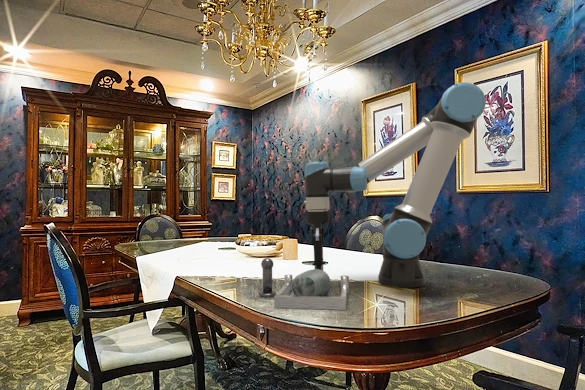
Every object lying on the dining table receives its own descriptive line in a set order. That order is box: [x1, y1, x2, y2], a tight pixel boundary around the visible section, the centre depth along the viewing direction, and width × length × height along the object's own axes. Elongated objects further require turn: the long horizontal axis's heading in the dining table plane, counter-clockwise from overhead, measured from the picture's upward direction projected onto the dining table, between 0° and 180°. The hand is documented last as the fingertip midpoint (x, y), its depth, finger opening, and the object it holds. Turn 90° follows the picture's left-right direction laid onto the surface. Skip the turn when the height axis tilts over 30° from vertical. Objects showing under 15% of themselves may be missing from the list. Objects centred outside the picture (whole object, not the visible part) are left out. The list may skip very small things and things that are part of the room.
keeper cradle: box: [273, 274, 350, 311], centre depth 112 cm, size 20×20×5 cm
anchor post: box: [258, 257, 277, 298], centre depth 117 cm, size 5×5×11 cm
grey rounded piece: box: [292, 268, 332, 296], centre depth 112 cm, size 14×10×10 cm
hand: (319, 285), depth 125 cm, fingers closed
